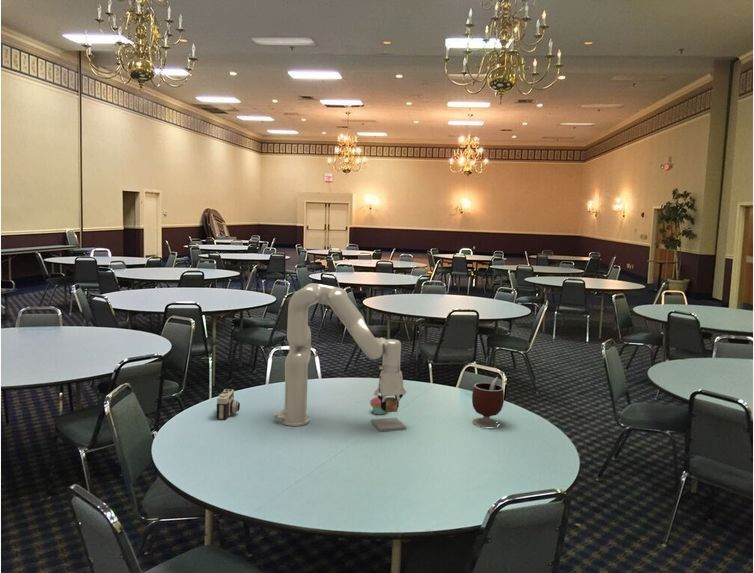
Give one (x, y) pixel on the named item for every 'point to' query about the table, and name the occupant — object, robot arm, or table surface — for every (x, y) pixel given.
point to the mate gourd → (487, 402)
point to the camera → (226, 404)
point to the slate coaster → (388, 424)
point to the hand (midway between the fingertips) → (389, 409)
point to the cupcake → (376, 405)
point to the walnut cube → (391, 404)
